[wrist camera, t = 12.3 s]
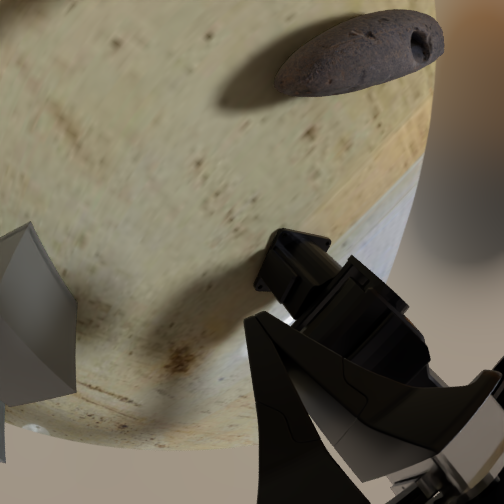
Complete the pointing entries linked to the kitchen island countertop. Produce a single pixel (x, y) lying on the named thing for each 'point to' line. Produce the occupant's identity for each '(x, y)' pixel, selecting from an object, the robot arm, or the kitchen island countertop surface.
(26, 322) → the camera case
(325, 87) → the perforated stone tool
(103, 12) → the kitchen island countertop surface
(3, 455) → the side door
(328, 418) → the robot arm
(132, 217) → the kitchen island countertop surface
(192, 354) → the kitchen island countertop surface
